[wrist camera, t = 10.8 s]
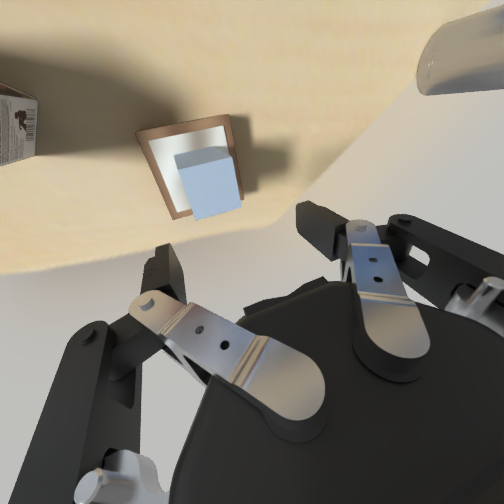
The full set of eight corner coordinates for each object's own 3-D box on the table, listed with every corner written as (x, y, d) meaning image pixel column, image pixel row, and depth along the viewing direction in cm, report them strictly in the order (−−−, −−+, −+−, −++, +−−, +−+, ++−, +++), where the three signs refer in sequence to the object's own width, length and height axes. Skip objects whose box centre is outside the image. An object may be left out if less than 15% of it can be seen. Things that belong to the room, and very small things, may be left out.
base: (221, 114, 27) (229, 114, 24) (236, 192, 34) (244, 200, 31) (138, 130, 25) (134, 132, 22) (171, 210, 32) (172, 220, 28)
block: (212, 146, 25) (231, 156, 18) (222, 185, 28) (241, 207, 21) (173, 155, 24) (177, 169, 17) (187, 194, 27) (195, 220, 20)
